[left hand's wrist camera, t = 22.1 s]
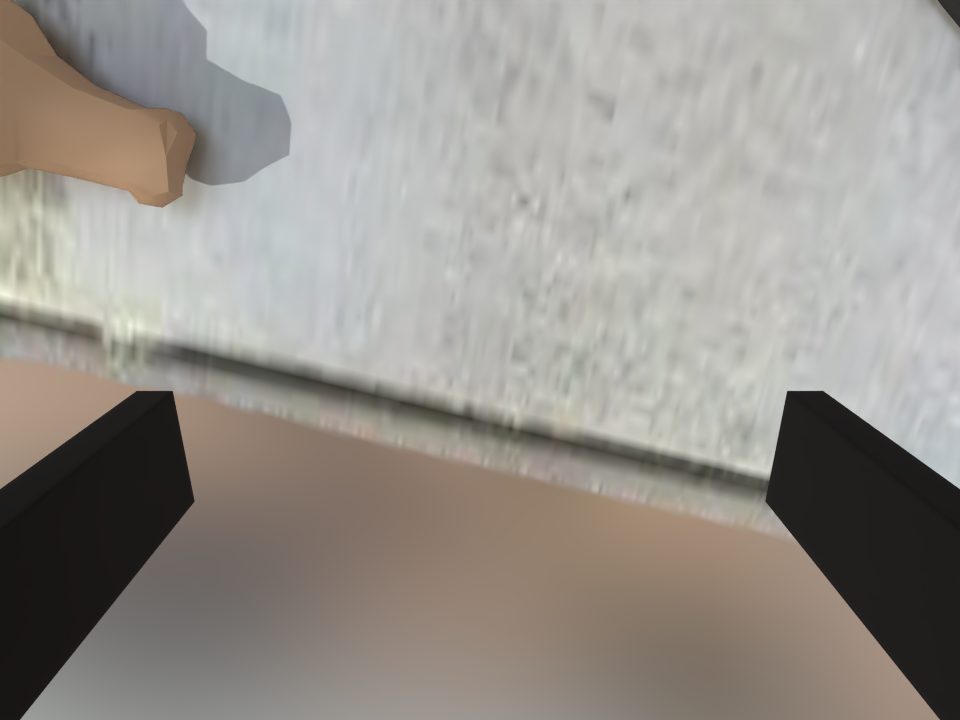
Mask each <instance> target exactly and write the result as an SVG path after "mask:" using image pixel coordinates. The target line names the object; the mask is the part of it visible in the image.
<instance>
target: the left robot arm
mask: <svg viewBox="0 0 960 720" xmlns="http://www.w3.org/2000/svg"><path fill="white" fill-rule="evenodd" d="M938 1H939V2H940V4H941V5H942V6H943V7H944V9H945V10H946V11H947V12H948V14H949V15H950V16H951V17H952V19H953V20H954V21H955V22H956V23H957V25H958V26H959V27H960V0H938ZM193 503H194V496H193V491H192V486H191V481H190V476H189V471H188V466H187V461H186V456H185V451H184V446H183V441H182V436H181V431H180V426H179V421H178V416H177V410H176V405H175V401H174V395H173V391H136V392H135V393H134V394H132V395H131V396H129V397H128V398H126V399H125V400H124V401H122V402H121V403H119V404H118V405H117V406H115V407H114V408H113V409H111V410H110V411H108V412H107V413H106V414H104V415H103V416H102V417H100V418H99V419H97V420H96V421H94V422H93V423H92V424H90V425H89V426H88V427H86V428H85V429H83V430H82V431H81V432H79V433H78V434H76V435H75V436H74V437H72V438H71V439H69V440H68V441H67V442H65V443H64V444H62V445H61V446H60V447H58V448H57V449H56V450H54V451H53V452H51V453H50V454H49V455H47V456H46V457H44V458H43V459H42V460H40V461H39V462H37V463H36V464H35V465H33V466H32V467H30V468H29V469H28V470H26V471H25V472H24V473H22V474H21V475H19V476H18V477H17V478H15V479H14V480H12V481H11V482H10V483H8V484H7V485H6V486H4V487H3V488H1V489H0V720H20V719H21V718H22V716H23V715H24V714H25V713H26V711H27V710H28V709H29V708H30V706H31V705H32V704H33V703H34V701H35V700H36V699H37V698H38V696H39V695H40V694H41V693H42V691H43V690H44V689H45V688H46V686H47V685H48V684H49V683H50V681H51V680H52V679H53V678H54V676H55V675H56V674H57V673H58V671H59V670H60V669H61V668H62V666H63V665H64V664H65V663H66V661H67V660H68V659H69V658H70V656H71V655H72V654H73V653H74V651H75V650H76V649H77V648H78V646H79V645H80V644H81V643H82V641H83V640H84V639H85V638H86V636H87V635H88V634H89V633H90V631H91V630H92V629H93V628H94V626H95V625H96V624H97V623H98V621H99V620H100V619H101V618H102V616H103V615H104V614H105V613H106V611H107V610H108V609H109V608H110V606H111V605H112V604H113V603H114V601H115V600H116V599H117V598H118V596H119V595H120V594H121V593H122V591H123V590H124V589H125V588H126V586H127V585H128V584H129V583H130V581H131V580H132V579H133V578H134V576H135V575H136V574H137V573H138V571H139V570H140V569H141V568H142V566H143V565H144V564H145V563H146V561H147V560H148V559H149V558H150V556H151V555H152V554H153V553H154V551H155V550H156V549H157V548H158V546H159V545H160V544H161V543H162V541H163V540H164V539H165V538H166V536H167V535H168V534H169V533H170V531H171V530H172V529H173V528H174V526H175V525H176V524H177V523H178V521H179V520H180V519H181V518H182V516H183V515H184V514H185V513H186V511H187V510H188V509H189V508H190V506H191V505H192V504H193ZM766 503H767V504H768V505H769V506H770V508H771V509H772V510H773V511H774V513H775V514H776V515H777V516H778V518H779V519H780V520H781V521H782V523H783V524H784V525H785V526H786V528H787V529H788V530H789V531H790V533H791V534H792V535H793V536H794V538H795V539H796V540H797V541H798V543H799V544H800V545H801V546H802V548H803V549H804V550H805V551H806V553H807V554H808V555H809V556H810V558H811V559H812V560H813V561H814V563H815V564H816V565H817V566H818V568H819V569H820V570H821V571H822V573H823V574H824V575H825V576H826V578H827V579H828V580H829V581H830V583H831V584H832V585H833V586H834V588H835V589H836V590H837V591H838V593H839V594H840V595H841V596H842V598H843V599H844V600H845V601H846V603H847V604H848V605H849V606H850V608H851V609H852V610H853V611H854V613H855V614H856V615H857V616H858V618H859V619H860V620H861V621H862V623H863V624H864V625H865V626H866V628H867V629H868V630H869V631H870V633H871V634H872V635H873V636H874V638H875V639H876V640H877V641H878V643H879V644H880V645H881V646H882V648H883V649H884V650H885V651H886V653H887V654H888V655H889V656H890V658H891V659H892V660H893V661H894V663H895V664H896V665H897V666H898V668H899V669H900V670H901V671H902V673H903V674H904V675H905V676H906V678H907V679H908V680H909V681H910V683H911V684H912V685H913V686H914V688H915V689H916V690H917V691H918V693H919V694H920V695H921V696H922V698H923V699H924V700H925V701H926V703H927V704H928V705H929V706H930V708H931V709H932V710H933V711H934V713H935V714H936V715H937V716H938V718H939V719H940V720H960V489H959V488H957V487H956V486H955V485H953V484H952V483H950V482H949V481H948V480H946V479H945V478H943V477H942V476H941V475H939V474H938V473H936V472H935V471H934V470H932V469H931V468H930V467H928V466H927V465H925V464H924V463H923V462H921V461H920V460H918V459H917V458H916V457H914V456H913V455H911V454H910V453H909V452H907V451H906V450H904V449H903V448H902V447H900V446H899V445H898V444H896V443H895V442H893V441H892V440H891V439H889V438H888V437H886V436H885V435H884V434H882V433H881V432H879V431H878V430H877V429H875V428H874V427H872V426H871V425H870V424H868V423H867V422H866V421H864V420H863V419H861V418H860V417H859V416H857V415H856V414H854V413H853V412H852V411H850V410H849V409H847V408H846V407H845V406H843V405H842V404H840V403H839V402H838V401H836V400H835V399H834V398H832V397H831V396H829V395H828V394H827V393H825V392H824V391H787V395H786V400H785V405H784V410H783V416H782V421H781V426H780V431H779V436H778V441H777V446H776V451H775V456H774V461H773V466H772V471H771V476H770V481H769V486H768V491H767V496H766Z"/></svg>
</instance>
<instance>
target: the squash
mask: <svg viewBox="0 0 960 720" xmlns="http://www.w3.org/2000/svg"><path fill="white" fill-rule="evenodd" d="M196 135H197V134H196V133H195V131H194V130H193V128H192V127H191V125H190V124H189V122H188V121H187V119H186V118H185V117H184V115H183V114H181V113H178V112H175V111H172V110H170V109H167V108H154V109H147V108H145V107H143V106H140V105H138V104H136V103H133V102H131V101H129V100H127V99H124V98H122V97H120V96H118V95H115V94H113V93H111V92H109V91H106V90H104V89H102V88H100V87H97V86H95V85H94V84H93V83H92V82H90V81H89V80H88V79H86V78H85V77H84V76H83V75H81V74H80V73H79V72H77V71H76V70H75V69H73V68H72V67H71V66H70V65H68V64H67V63H66V62H64V61H63V60H62V59H61V58H59V57H58V56H57V55H56V53H55V52H54V50H53V49H52V47H51V46H50V44H49V42H48V41H47V39H46V38H45V36H44V35H43V33H42V31H41V30H40V28H39V27H38V25H37V24H36V22H35V20H34V19H33V17H32V16H31V15H30V14H29V13H27V12H26V11H25V10H23V9H22V8H20V7H19V6H18V5H16V4H15V3H13V2H12V1H11V0H0V177H1V176H6V175H9V174H12V173H15V172H18V171H21V170H24V169H27V168H32V169H36V170H41V171H46V172H50V173H55V174H60V175H64V176H69V177H74V178H78V179H82V180H86V181H90V182H95V183H99V184H103V185H107V186H111V187H115V188H119V189H123V190H127V191H129V192H130V193H131V194H132V195H133V197H134V198H135V199H136V200H137V202H138V203H139V204H145V205H151V206H157V207H164V206H166V205H167V204H169V203H171V202H172V201H174V200H175V199H177V198H179V197H180V196H182V187H183V182H184V177H185V172H186V168H187V163H188V161H189V158H190V155H191V152H192V150H193V147H194V144H195V140H196Z"/></svg>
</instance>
